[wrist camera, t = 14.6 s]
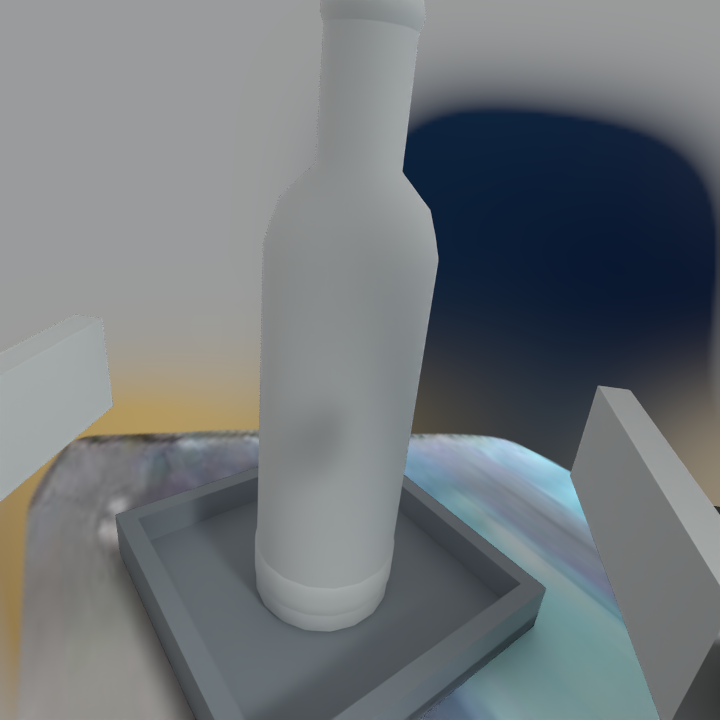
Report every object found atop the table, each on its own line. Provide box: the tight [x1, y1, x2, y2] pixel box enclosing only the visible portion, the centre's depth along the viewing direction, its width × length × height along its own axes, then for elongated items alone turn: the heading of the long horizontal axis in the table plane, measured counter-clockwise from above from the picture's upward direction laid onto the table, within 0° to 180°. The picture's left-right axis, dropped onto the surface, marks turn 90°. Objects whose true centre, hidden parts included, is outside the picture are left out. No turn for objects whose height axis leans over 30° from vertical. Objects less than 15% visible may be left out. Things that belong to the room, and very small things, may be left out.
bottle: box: [255, 0, 438, 632], centre depth 25 cm, size 8×8×30 cm
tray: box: [115, 467, 546, 720], centre depth 31 cm, size 18×18×3 cm
